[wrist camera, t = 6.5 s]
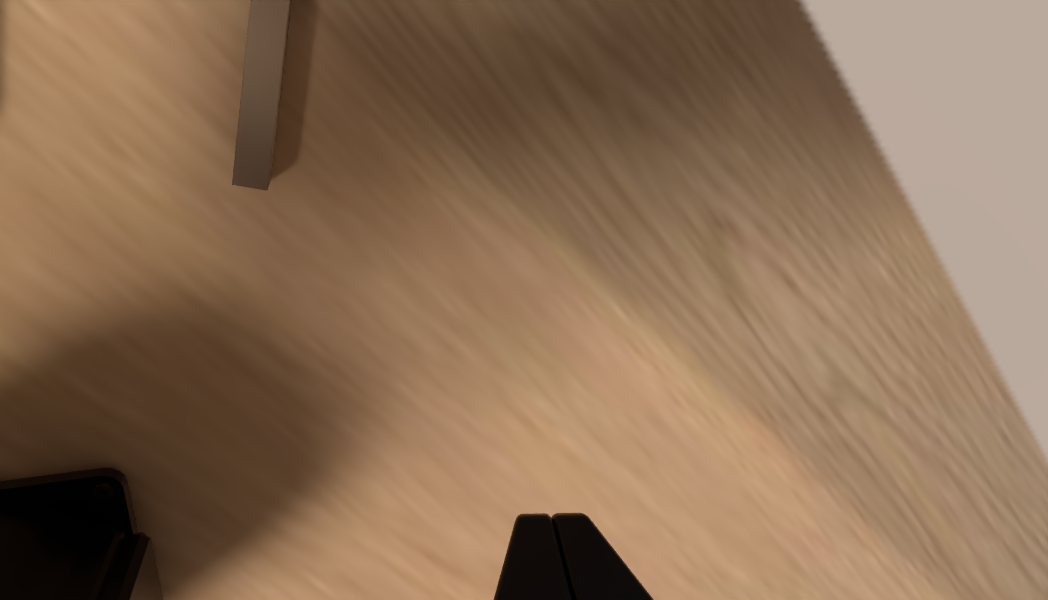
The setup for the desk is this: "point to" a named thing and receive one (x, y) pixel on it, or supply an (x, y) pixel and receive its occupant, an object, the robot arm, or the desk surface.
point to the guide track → (261, 92)
